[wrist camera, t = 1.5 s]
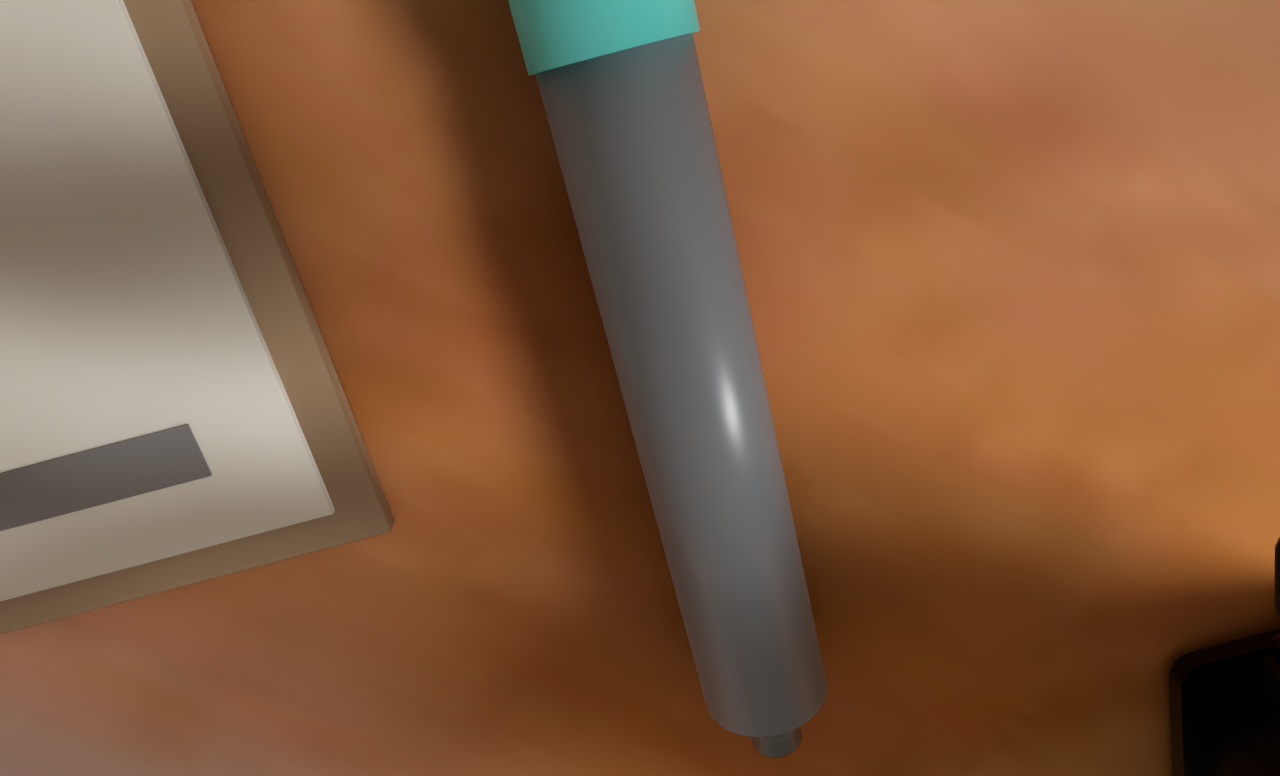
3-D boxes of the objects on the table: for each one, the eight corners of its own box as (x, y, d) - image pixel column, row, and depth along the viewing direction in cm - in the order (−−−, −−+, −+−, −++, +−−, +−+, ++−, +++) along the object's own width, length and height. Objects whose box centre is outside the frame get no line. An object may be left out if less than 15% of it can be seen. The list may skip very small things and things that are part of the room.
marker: (822, 683, 19) (862, 774, 16) (705, 713, 19) (726, 809, 16) (652, -130, 13) (673, -178, 11) (486, -87, 13) (470, -124, 11)
